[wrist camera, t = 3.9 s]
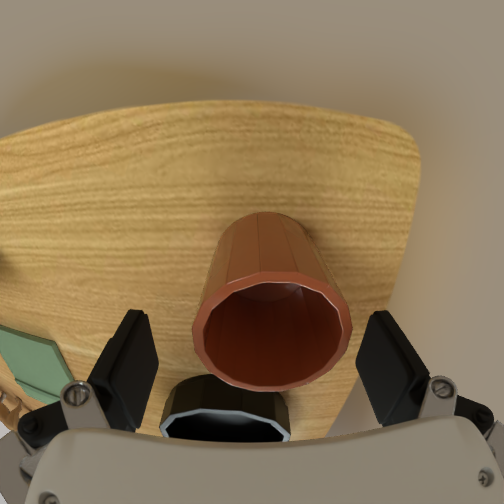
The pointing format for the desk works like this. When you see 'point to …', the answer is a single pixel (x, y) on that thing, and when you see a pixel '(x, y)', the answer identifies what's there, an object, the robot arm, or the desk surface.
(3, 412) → the lion figurine
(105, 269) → the desk surface
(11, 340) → the notepad
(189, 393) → the pan
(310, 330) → the cup
